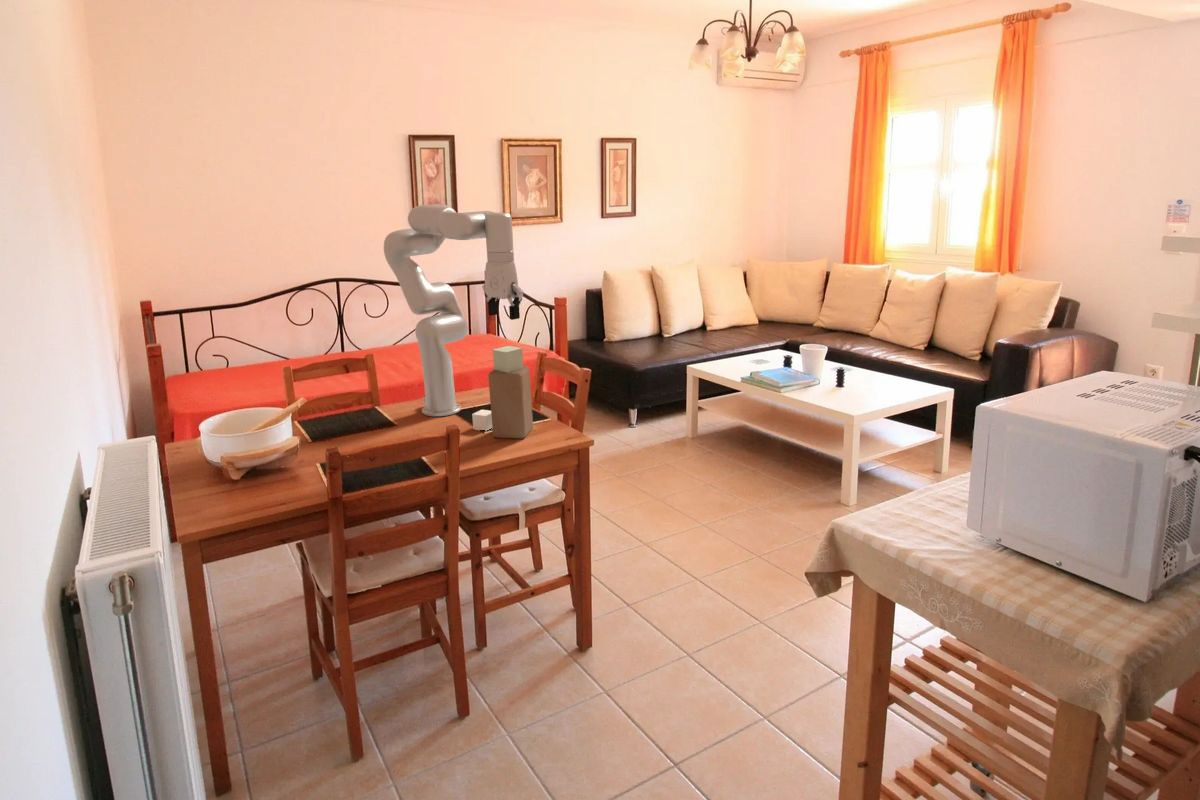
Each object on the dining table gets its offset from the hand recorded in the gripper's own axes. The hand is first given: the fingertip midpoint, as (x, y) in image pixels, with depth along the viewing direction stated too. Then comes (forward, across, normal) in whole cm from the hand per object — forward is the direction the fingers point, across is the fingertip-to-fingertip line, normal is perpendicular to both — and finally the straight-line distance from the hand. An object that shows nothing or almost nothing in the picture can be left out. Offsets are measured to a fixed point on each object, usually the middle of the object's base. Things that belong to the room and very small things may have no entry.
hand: (504, 316), depth 219 cm
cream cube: (+35, -7, -4) cm, 36 cm away
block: (+35, +4, -2) cm, 35 cm away
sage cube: (+15, +3, -2) cm, 15 cm away
